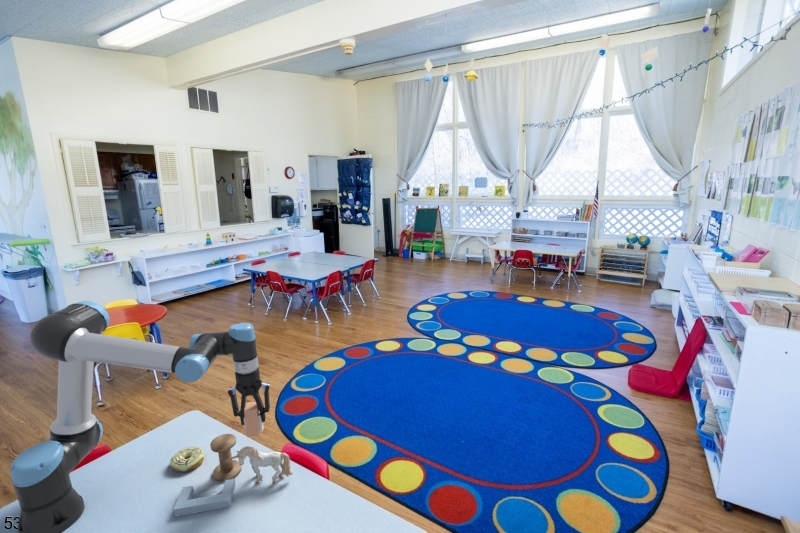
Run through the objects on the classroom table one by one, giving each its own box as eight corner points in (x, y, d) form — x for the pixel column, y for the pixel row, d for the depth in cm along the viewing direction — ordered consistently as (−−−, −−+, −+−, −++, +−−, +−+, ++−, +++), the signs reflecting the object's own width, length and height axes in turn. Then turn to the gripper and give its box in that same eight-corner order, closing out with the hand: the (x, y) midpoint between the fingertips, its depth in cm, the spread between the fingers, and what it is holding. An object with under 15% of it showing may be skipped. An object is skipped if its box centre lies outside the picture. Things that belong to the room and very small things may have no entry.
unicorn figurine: (234, 479, 134) (229, 445, 131) (292, 465, 140) (289, 433, 137) (232, 495, 127) (227, 459, 124) (293, 480, 133) (290, 446, 130)
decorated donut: (185, 478, 135) (183, 468, 134) (164, 469, 140) (163, 460, 139) (210, 458, 144) (209, 449, 144) (190, 450, 149) (189, 441, 148)
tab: (247, 437, 132) (243, 410, 130) (250, 428, 137) (246, 402, 135) (259, 435, 133) (256, 409, 131) (261, 426, 138) (258, 401, 136)
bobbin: (210, 483, 132) (205, 452, 129) (216, 465, 141) (212, 434, 138) (238, 479, 134) (234, 447, 131) (243, 461, 142) (239, 431, 140)
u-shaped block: (174, 516, 120) (173, 509, 119) (183, 493, 128) (182, 487, 128) (230, 506, 123) (229, 500, 122) (235, 485, 131) (234, 478, 131)
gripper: (216, 378, 125) (226, 441, 130) (272, 371, 128) (279, 434, 133) (222, 367, 132) (231, 427, 137) (274, 361, 135) (281, 421, 140)
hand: (254, 430), depth 135 cm, fingers closed on tab, 4 cm apart
